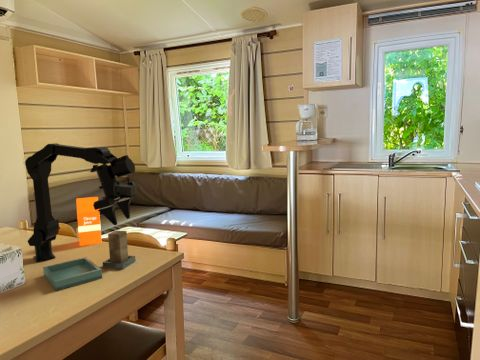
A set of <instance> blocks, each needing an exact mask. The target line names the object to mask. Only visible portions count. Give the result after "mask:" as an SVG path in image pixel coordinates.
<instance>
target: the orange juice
mask: <svg viewBox="0 0 480 360" xmlns="http://www.w3.org/2000/svg"><path fill="white" fill-rule="evenodd" d="M75 200H76V215H77V217H76V218H77V230H78V239H79V240H78V241H79V247H83V246H90V245H99V244H102V243H103V242H102V229H101V226H102V225H101V217H100V216H101V215H100V212H98V211H97V210H100V209H97V210H95V209H94V206H93V204H94V202H95V201H98V200H99V197H98V196H91V197H79V198H76V199H75Z"/></svg>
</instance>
